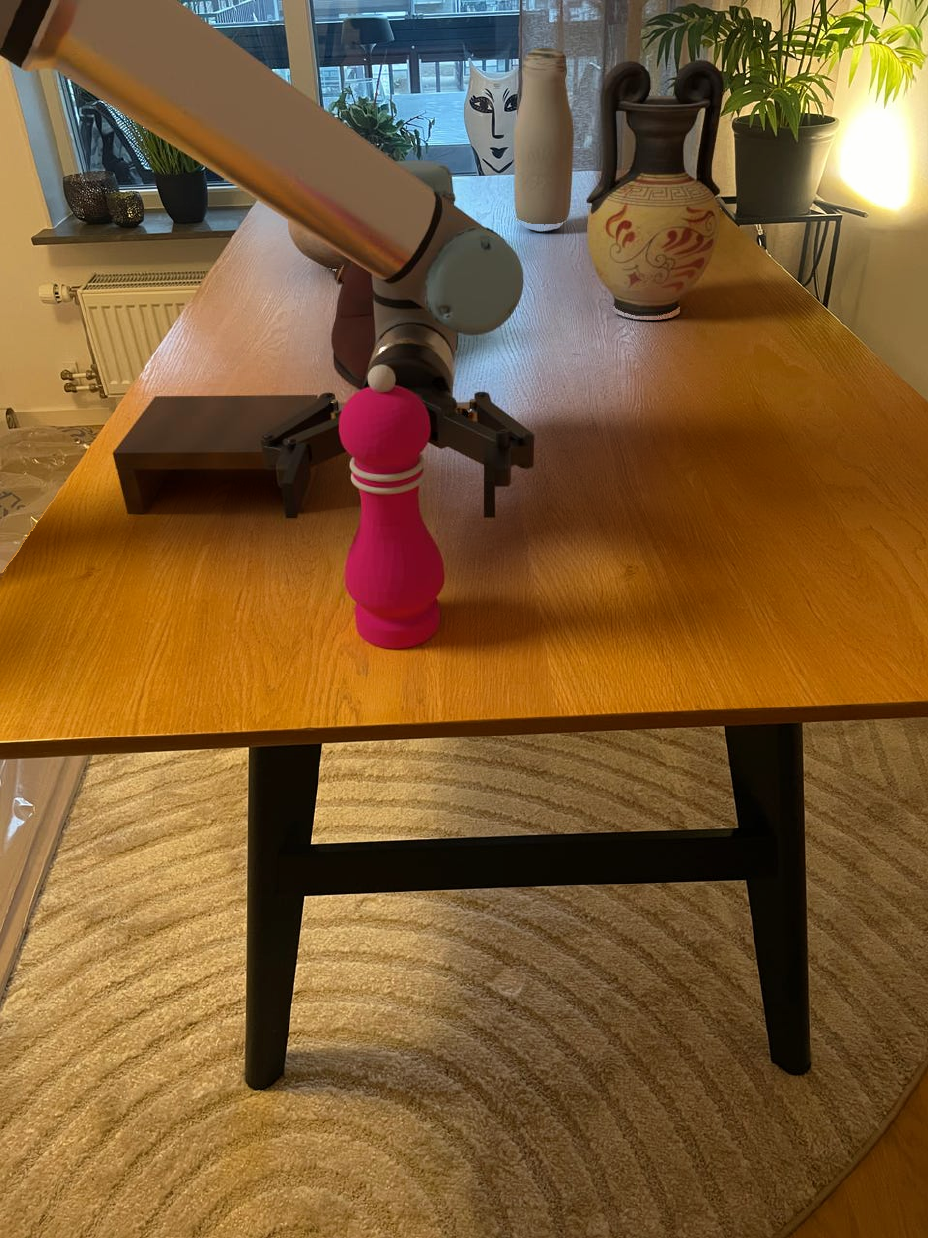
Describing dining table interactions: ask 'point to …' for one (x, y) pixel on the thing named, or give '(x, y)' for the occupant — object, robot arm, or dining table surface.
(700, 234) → the amphora
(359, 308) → the dress shoe
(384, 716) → the dining table surface
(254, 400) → the shelf
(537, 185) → the tan bottle
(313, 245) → the cooking pot
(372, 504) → the pepper mill
